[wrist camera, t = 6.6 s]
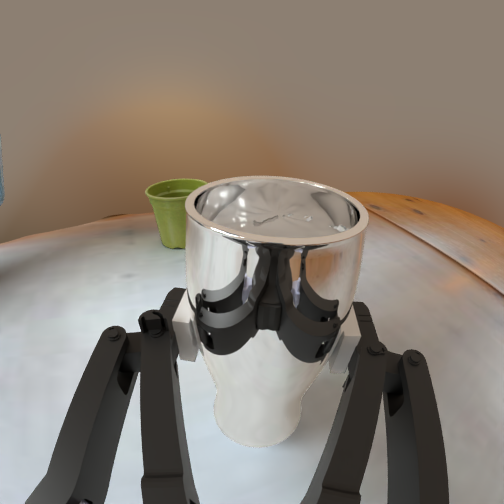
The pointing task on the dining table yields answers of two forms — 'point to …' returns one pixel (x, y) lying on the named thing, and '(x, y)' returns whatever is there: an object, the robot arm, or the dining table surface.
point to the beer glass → (269, 293)
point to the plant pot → (172, 208)
